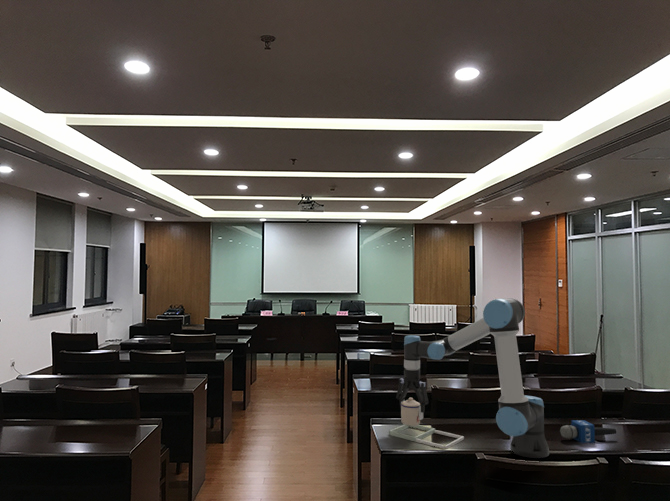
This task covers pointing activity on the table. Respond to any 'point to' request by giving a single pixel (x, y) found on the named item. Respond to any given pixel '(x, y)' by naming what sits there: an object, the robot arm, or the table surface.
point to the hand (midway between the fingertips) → (412, 417)
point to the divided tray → (424, 435)
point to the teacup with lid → (410, 412)
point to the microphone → (584, 431)
